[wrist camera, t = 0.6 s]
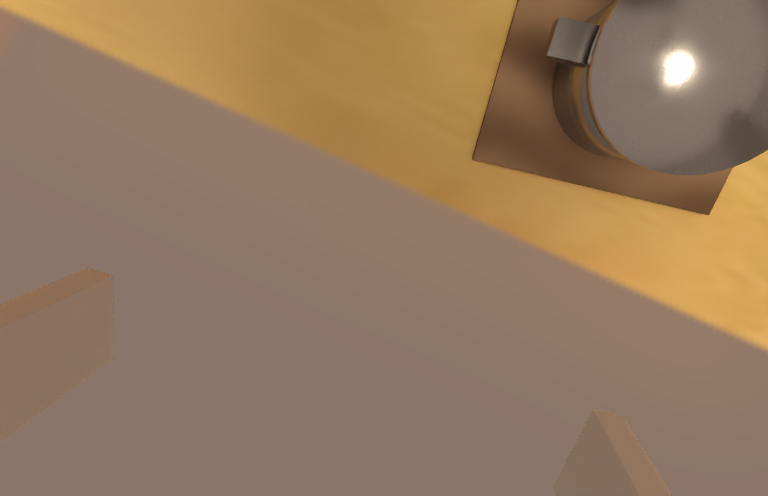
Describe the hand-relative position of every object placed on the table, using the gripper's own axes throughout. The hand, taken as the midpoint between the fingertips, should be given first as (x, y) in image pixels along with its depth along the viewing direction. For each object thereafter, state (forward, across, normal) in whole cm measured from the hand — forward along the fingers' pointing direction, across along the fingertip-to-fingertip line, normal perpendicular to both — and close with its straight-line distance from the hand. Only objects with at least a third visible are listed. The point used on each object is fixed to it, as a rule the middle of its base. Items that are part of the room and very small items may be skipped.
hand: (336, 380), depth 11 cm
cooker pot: (+25, +14, +13) cm, 31 cm away
